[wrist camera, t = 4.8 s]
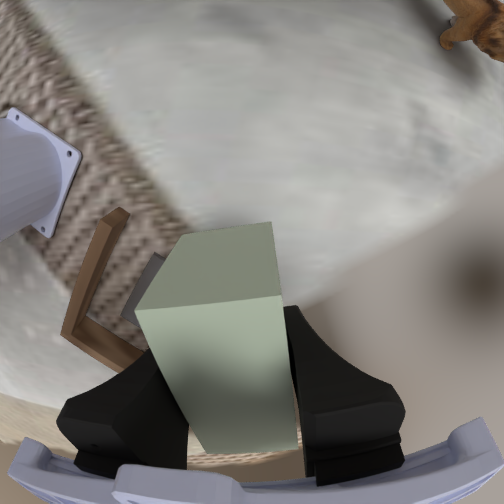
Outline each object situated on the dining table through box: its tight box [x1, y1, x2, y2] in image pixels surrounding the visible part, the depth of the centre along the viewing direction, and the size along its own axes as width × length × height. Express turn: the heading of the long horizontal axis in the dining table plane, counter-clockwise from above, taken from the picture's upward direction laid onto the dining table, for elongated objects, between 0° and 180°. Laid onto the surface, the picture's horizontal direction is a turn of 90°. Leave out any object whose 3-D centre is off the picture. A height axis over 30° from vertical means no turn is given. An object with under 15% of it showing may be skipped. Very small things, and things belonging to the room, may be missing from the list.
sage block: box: [134, 222, 298, 454], centre depth 12 cm, size 4×8×6 cm, turn 9°
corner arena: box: [60, 207, 166, 373], centre depth 22 cm, size 16×12×3 cm
